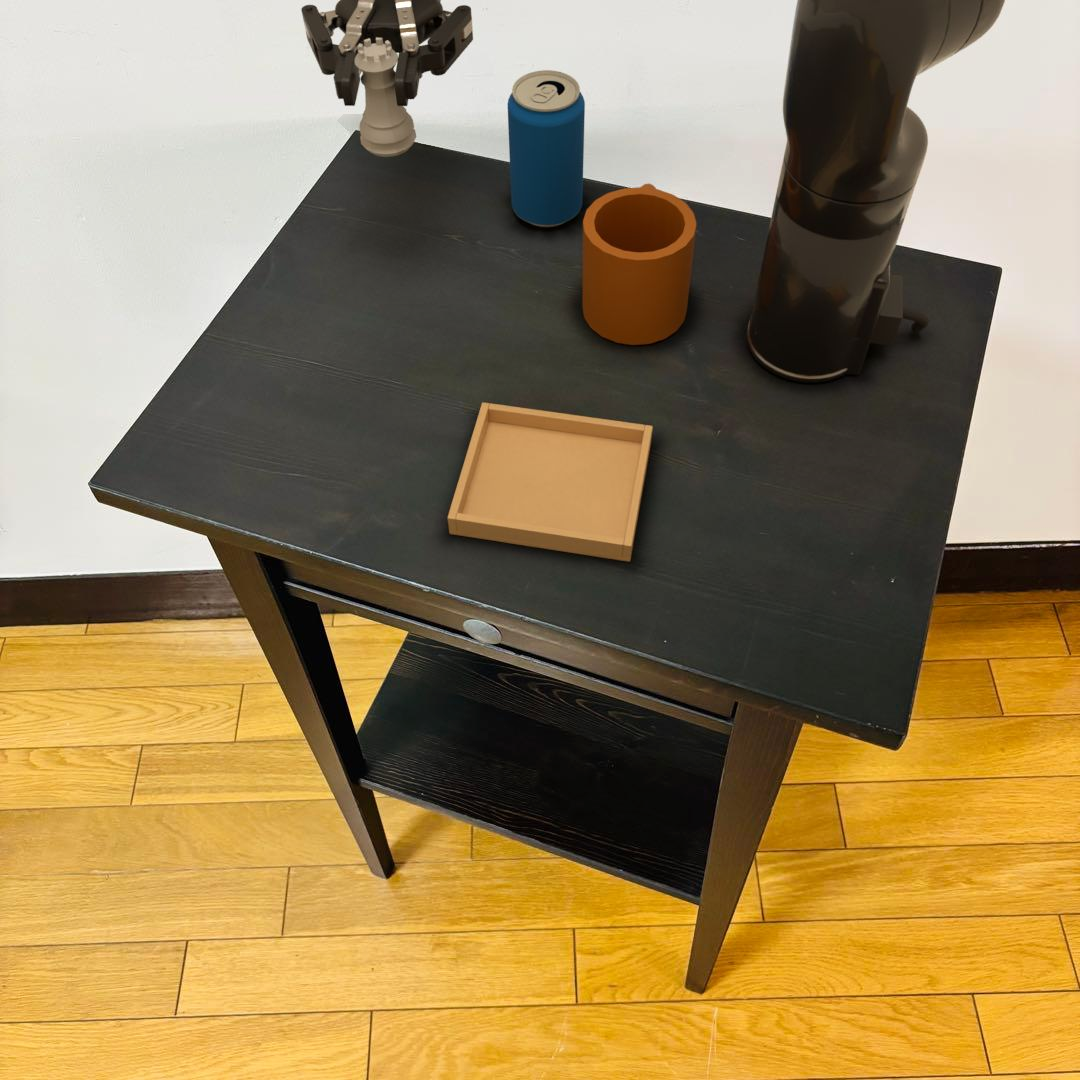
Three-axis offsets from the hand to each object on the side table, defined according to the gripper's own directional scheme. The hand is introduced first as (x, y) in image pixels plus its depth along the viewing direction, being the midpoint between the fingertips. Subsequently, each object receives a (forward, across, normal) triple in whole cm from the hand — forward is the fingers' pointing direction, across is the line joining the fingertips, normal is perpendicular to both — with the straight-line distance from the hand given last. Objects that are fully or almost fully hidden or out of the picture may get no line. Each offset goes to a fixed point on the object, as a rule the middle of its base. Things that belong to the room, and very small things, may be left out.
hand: (374, 94), depth 78 cm
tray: (+23, +14, +18) cm, 32 cm away
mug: (+2, +20, +18) cm, 27 cm away
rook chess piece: (-3, 0, +6) cm, 7 cm away
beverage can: (-10, +12, +18) cm, 24 cm away
